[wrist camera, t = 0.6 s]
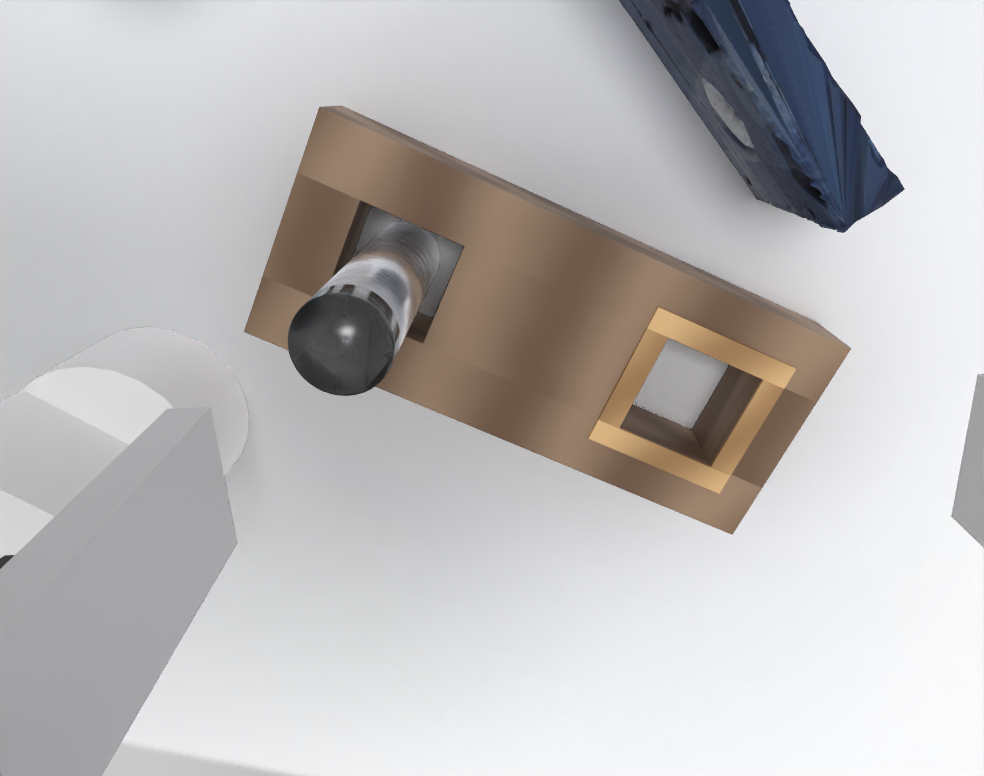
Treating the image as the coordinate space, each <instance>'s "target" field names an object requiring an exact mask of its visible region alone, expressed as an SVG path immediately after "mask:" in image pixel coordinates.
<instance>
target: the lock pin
mask: <svg viewBox="0 0 984 776" xmlns="http://www.w3.org/2000/svg"><path fill="white" fill-rule="evenodd" d="M439 263H440V251H439V247H438V244H437V242H436V240H435V238H434V237H433V235H432V234H431V233H430V232H429V231H428V230H426V229H424V228H422V227H420V226H417V225H415V224H413V223H410V222H408V221H400V222H395V223H392V224H390V225H388V226H387V227H385V228H384V229H383V230H381V231H380V232H379V233H378V234H377V235H376V236H375V237H374V238H373V239H372V240H371V241H370V242H369V243H368V244H367V245H366V246H365V247H364V248H363V249H362V250H361V251H360V252H359V253H357V254H356V255H355V256H354V257H353V258H352V259H351V260H350V261H349V262H348V263H347V264H346V265H345V266H344V267H343V268H342V269H341V270H340V271H339V272H338V273H337V274H336V275H335V276H333V277H332V278H331V279H330V280H329V281H328V282H327V283H326V284H325V285H324V286H323V287H322V288H321V289H320V290H319V291H318V292H317V293H316V294H315V295H314V296H313V297H312V298H311V299H310V300H308V301H307V302H306V303H305V304H304V305H303V306H302V307H301V308H300V309H299V311H298V312H297V313H296V315H295V316H294V318H293V320H292V322H291V324H290V328H289V332H288V349H289V354H290V357H291V360H292V362H293V364H294V366H295V368H296V369H297V371H298V372H299V373H300V375H301V376H302V377H303V378H304V379H305V380H306V381H307V382H309V383H310V384H311V385H313V386H314V387H316V388H317V389H320V390H322V391H324V392H327V393H330V394H334V395H342V396H349V395H356V394H360V393H363V392H366V391H368V390H370V389H372V388H373V387H375V386H376V385H377V384H378V383H380V382H381V381H382V380H383V378H384V377H385V376H386V374H387V373H388V371H389V369H390V367H391V365H392V363H393V361H394V359H395V357H396V355H397V353H398V351H399V348H400V346H401V344H402V342H403V340H404V338H405V336H406V334H407V332H408V330H409V328H410V326H411V324H412V322H413V319H414V317H415V315H416V313H417V311H418V309H419V307H420V305H421V303H422V301H423V299H424V297H425V295H426V293H427V291H428V288H429V286H430V284H431V282H432V280H433V278H434V276H435V274H436V272H437V270H438V267H439Z"/></svg>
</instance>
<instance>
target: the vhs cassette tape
mask: <svg viewBox="0 0 984 776" xmlns="http://www.w3.org/2000/svg"><path fill="white" fill-rule="evenodd" d="M620 2H621V4H622V5H623V7H624V8H625V9H626V11H627V12H628V13H629V15H630V16H631V18H632V19H633V20H634V22H635V23H636V25H637V26H638V28H639V29H640V31H641V32H642V34H643V35H644V36H645V38H646V39H647V41H648V42H649V44H650V45H651V47H652V48H653V49H654V51H655V52H656V54H657V55H658V57H659V58H660V60H661V61H662V63H663V64H664V66H665V67H666V68H667V70H668V71H669V73H670V74H671V76H672V77H673V79H674V80H675V81H676V83H677V84H678V86H679V87H680V89H681V90H682V92H683V93H684V95H685V96H686V97H687V99H688V100H689V102H690V103H691V105H692V106H693V108H694V109H695V111H696V112H697V113H698V115H699V116H700V118H701V119H702V121H703V122H704V123H705V125H706V126H707V128H708V129H709V131H710V132H711V134H712V135H713V136H714V138H715V139H716V141H717V142H718V143H719V145H720V146H721V148H722V149H723V151H724V152H725V154H726V155H727V157H728V158H729V159H730V161H731V162H732V164H733V165H734V166H735V168H736V169H737V170H738V172H739V173H740V175H741V176H742V178H743V179H744V180H745V182H746V183H747V185H748V186H749V188H750V189H751V191H752V192H753V194H754V195H755V197H756V199H757V200H762V201H764V202H767V203H771V204H772V205H773V206H775V207H777V208H780V209H782V210H785V211H787V212H791V213H794V214H796V215H798V216H800V217H802V218H807V220H811V221H813V222H815V223H817V224H819V226H820V227H824V228H829V229H833V230H836V229H837V232H842V233H844V232H846V231H847V230H848V229H849V228H850V227H851V226H852V225H853V224H854V223H855V222H856V221H858V220H860V219H861V218H863V217H865V216H867V215H868V214H870V213H872V212H873V211H875V210H877V209H879V208H880V207H882V206H883V205H885V204H886V203H887V202H889V201H890V200H891V199H893V198H894V197H895V196H897V195H898V194H899V193H900V192H902V191H903V190H904V187H903V186H902V184H901V182H900V180H899V179H898V177H897V176H896V175H895V174H894V173H893V172H891V171H890V170H889V169H888V168H887V166H886V163H885V161H884V159H883V158H882V157H881V155H880V154H879V152H878V151H877V149H876V147H875V146H874V144H873V142H872V141H871V139H870V137H869V136H868V134H867V133H866V131H865V130H864V128H863V127H862V125H861V123H860V122H861V115H860V114H859V112H858V111H857V109H856V108H855V106H854V105H853V103H852V102H851V101H850V99H849V98H848V97H847V95H846V94H845V93H844V92H843V90H842V89H841V88H840V86H839V85H838V84H837V82H836V81H835V80H834V78H833V77H832V75H831V73H830V71H829V69H828V67H827V65H826V63H825V62H824V60H823V59H822V57H821V56H820V54H819V53H818V51H817V50H816V49H815V47H814V46H813V44H812V43H811V41H810V40H809V38H808V37H807V35H806V34H805V32H804V29H803V28H802V27H801V26H800V25H799V23H798V21H797V19H796V17H795V15H794V13H793V11H792V9H791V7H790V2H789V1H788V0H620Z"/></svg>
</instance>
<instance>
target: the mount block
mask: <svg viewBox="0 0 984 776" xmlns="http://www.w3.org/2000/svg"><path fill="white" fill-rule="evenodd" d="M371 205H372V206H374V207H377V208H379V209H381V210H383V211H386V212H388V213H390V214H392V215H395V216H397V217H399V218H401V219H404V220H406V221H408V222H410V223H413V224H415V225H417V226H420V227H422V228H424V229H426V230H429V231H431V232H433V233H435V234H438V235H440V236H442V237H444V238H447V239H449V240H451V241H453V242H456V243H458V244H460V245H462V246H464V247H463V249H462V252H461V254H460V256H459V259H458V261H457V263H456V266H455V268H454V271H453V273H452V275H451V278H450V280H449V282H448V285H447V287H446V289H445V292H444V294H443V296H442V299H441V301H440V303H439V306H438V308H437V311H436V313H435V315H434V318H433V319H432V318H429V317H427V316H425V315H422V314H420V313H418V312H417V313H416V315H415V317H414V319H413V322H412V324H411V326H410V328H409V330H408V332H407V334H406V336H405V338H404V340H403V342H402V344H401V346H400V348H399V351H398V353H397V355H396V357H395V359H394V361H393V363H392V365H391V367H390V369H389V371H388V373H387V374H386V376H385V377H384V378H383V380H382V381H381V382H380V383H378V384H377V385H376V387H378V388H380V389H383V390H385V391H388V392H390V393H392V394H395V395H397V396H400V397H402V398H405V399H407V400H409V401H412V402H414V403H417V404H419V405H421V406H424V407H426V408H429V409H431V410H433V411H436V412H438V413H441V414H443V415H445V416H448V417H450V418H453V419H455V420H457V421H460V422H462V423H465V424H467V425H470V426H472V427H474V428H477V429H479V430H482V431H484V432H486V433H489V434H491V435H494V436H496V437H498V438H501V439H503V440H506V441H508V442H510V443H513V444H515V445H518V446H520V447H522V448H525V449H527V450H530V451H532V452H535V453H537V454H539V455H542V456H544V457H547V458H549V459H551V460H554V461H556V462H559V463H561V464H563V465H566V466H568V467H571V468H573V469H575V470H578V471H580V472H583V473H585V474H587V475H590V476H592V477H595V478H597V479H600V480H602V481H604V482H607V483H609V484H612V485H614V486H616V487H619V488H621V489H624V490H626V491H628V492H631V493H633V494H636V495H638V496H640V497H643V498H645V499H648V500H650V501H652V502H655V503H657V504H660V505H662V506H665V507H667V508H669V509H672V510H674V511H677V512H679V513H681V514H684V515H686V516H689V517H691V518H693V519H696V520H698V521H701V522H703V523H705V524H708V525H710V526H713V527H715V528H718V529H720V530H722V531H725V532H727V533H730V534H733V533H734V531H735V530H736V528H737V527H738V525H739V523H740V522H741V520H742V519H743V517H744V516H745V514H746V512H747V511H748V509H749V508H750V506H751V505H752V503H753V501H754V500H755V498H756V497H757V495H758V494H759V492H760V491H761V489H762V487H763V486H764V484H765V483H766V481H767V480H768V478H769V476H770V475H771V473H772V472H773V470H774V469H775V467H776V465H777V464H778V462H779V461H780V459H781V458H782V456H783V454H784V453H785V451H786V450H787V448H788V447H789V445H790V443H791V442H792V440H793V439H794V437H795V436H796V434H797V433H798V431H799V429H800V428H801V426H802V425H803V423H804V422H805V420H806V418H807V417H808V415H809V414H810V412H811V411H812V409H813V407H814V406H815V404H816V403H817V401H818V400H819V398H820V396H821V395H822V393H823V392H824V390H825V389H826V387H827V386H828V384H829V382H830V381H831V379H832V378H833V376H834V375H835V373H836V371H837V370H838V368H839V367H840V365H841V364H842V362H843V360H844V359H845V357H846V356H847V354H848V353H849V351H850V349H851V348H850V347H849V346H847V345H846V344H845V343H843V342H842V341H841V340H839V339H838V338H837V337H835V336H834V335H833V334H832V333H830V332H829V331H828V330H826V329H825V328H824V327H822V326H821V325H820V324H818V323H817V322H815V321H812V320H810V319H808V318H806V317H804V316H801V315H799V314H797V313H795V312H793V311H790V310H788V309H786V308H784V307H782V306H780V305H777V304H775V303H773V302H771V301H769V300H766V299H764V298H762V297H760V296H758V295H755V294H753V293H751V292H749V291H747V290H744V289H742V288H740V287H738V286H736V285H733V284H731V283H729V282H727V281H725V280H722V279H720V278H718V277H716V276H714V275H712V274H709V273H707V272H705V271H703V270H701V269H698V268H696V267H694V266H692V265H690V264H687V263H685V262H683V261H681V260H679V259H676V258H674V257H672V256H670V255H668V254H665V253H663V252H661V251H659V250H657V249H654V248H652V247H650V246H648V245H646V244H643V243H641V242H639V241H637V240H635V239H633V238H630V237H628V236H626V235H624V234H622V233H619V232H617V231H615V230H613V229H611V228H608V227H606V226H604V225H602V224H600V223H597V222H595V221H593V220H591V219H589V218H586V217H584V216H582V215H580V214H578V213H575V212H573V211H571V210H569V209H567V208H564V207H562V206H560V205H558V204H556V203H554V202H551V201H549V200H547V199H545V198H543V197H540V196H538V195H536V194H534V193H532V192H529V191H527V190H525V189H523V188H521V187H518V186H516V185H514V184H512V183H510V182H507V181H505V180H503V179H501V178H499V177H496V176H494V175H492V174H490V173H488V172H486V171H483V170H481V169H479V168H477V167H475V166H472V165H470V164H468V163H466V162H464V161H461V160H459V159H457V158H455V157H453V156H450V155H448V154H446V153H444V152H442V151H439V150H437V149H435V148H433V147H431V146H428V145H426V144H424V143H422V142H420V141H417V140H415V139H413V138H411V137H409V136H407V135H404V134H402V133H400V132H398V131H396V130H393V129H391V128H389V127H387V126H385V125H382V124H380V123H378V122H376V121H374V120H371V119H369V118H367V117H365V116H363V115H360V114H358V113H356V112H354V111H352V110H349V109H347V108H345V107H343V106H330V107H319V110H318V113H317V116H316V119H315V122H314V125H313V128H312V131H311V134H310V137H309V140H308V143H307V146H306V149H305V152H304V155H303V158H302V161H301V163H300V166H299V169H298V172H297V175H296V178H295V181H294V184H293V187H292V190H291V193H290V196H289V199H288V202H287V205H286V208H285V211H284V214H283V217H282V220H281V223H280V226H279V229H278V232H277V235H276V238H275V241H274V244H273V247H272V250H271V253H270V256H269V259H268V262H267V265H266V268H265V271H264V274H263V277H262V280H261V283H260V286H259V289H258V292H257V295H256V298H255V301H254V303H253V306H252V309H251V312H250V315H249V318H248V321H247V324H246V327H245V330H244V332H246V333H248V334H250V335H253V336H255V337H258V338H260V339H262V340H265V341H267V342H270V343H272V344H275V345H277V346H279V347H282V348H284V349H287V350H289V349H288V332H289V328H290V324H291V322H292V320H293V318H294V316H295V315H296V313H297V312H298V311H299V309H300V308H301V307H302V306H303V305H304V304H305V303H306V302H307V301H308V300H310V299H311V298H312V297H313V296H314V295H315V294H316V293H317V292H318V291H319V290H320V289H321V288H322V287H323V286H324V285H325V284H326V283H327V282H328V281H329V280H330V279H331V278H332V277H333V276H335V275H336V274H337V273H338V272H339V271H340V270H341V269H342V268H343V267H344V266H345V265H346V264H347V263H348V262H349V261H350V260H351V258H352V255H353V253H354V250H355V247H356V245H357V242H358V239H359V237H360V234H361V231H362V229H363V226H364V223H365V221H366V218H367V215H368V213H369V210H370V207H371ZM668 338H670V339H673V340H675V341H677V342H679V343H682V344H684V345H686V346H688V347H691V348H693V349H695V350H697V351H700V352H702V353H704V354H706V355H709V356H711V357H713V358H715V359H718V360H720V361H722V362H724V363H727V364H729V367H728V369H727V370H726V372H725V374H724V375H723V377H722V379H721V381H720V382H719V384H718V386H717V387H716V389H715V391H714V393H713V394H712V396H711V398H710V399H709V401H708V403H707V405H706V406H705V408H704V410H703V411H702V413H701V415H700V417H699V418H698V420H697V422H696V423H695V425H694V427H693V429H692V430H690V429H688V428H686V427H683V426H681V425H679V424H676V423H674V422H672V421H669V420H667V419H665V418H662V417H660V416H658V415H655V414H653V413H651V412H648V411H646V410H644V409H641V408H639V407H637V406H634V405H632V404H633V402H634V400H635V398H636V396H637V394H638V393H639V391H640V389H641V387H642V385H643V383H644V382H645V380H646V378H647V376H648V374H649V372H650V371H651V369H652V367H653V365H654V363H655V361H656V360H657V358H658V356H659V354H660V352H661V350H662V349H663V347H664V345H665V343H666V341H667V339H668Z"/></svg>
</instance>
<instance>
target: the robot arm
mask: <svg viewBox="0 0 984 776" xmlns="http://www.w3.org/2000/svg"><path fill="white" fill-rule="evenodd" d="M951 517H952V518H953V519H954V520H956V521H957V522H958V523H959V524H960V525H961V526H962V527H963V528H964V529H965V530H966V531H967V532H968V533H969V534H970V535H971V536H972V537H973V538H974V539H975V540H976V541H977V542H978V543H979V544H980V545H981V546H983V547H984V374H978V376H977V381H976V386H975V392H974V397H973V403H972V408H971V413H970V419H969V424H968V429H967V435H966V440H965V446H964V451H963V456H962V462H961V467H960V473H959V478H958V483H957V489H956V494H955V500H954V505H953V510H952V516H951ZM236 544H237V539H236V534H235V529H234V524H233V519H232V514H231V508H230V503H229V498H228V493H227V488H226V483H225V478H224V473H223V468H222V463H221V458H220V453H219V448H218V443H217V437H216V432H215V427H214V422H213V417H212V412H211V407H195V408H171V409H166V410H165V411H164V412H163V413H162V414H161V415H160V416H159V417H158V418H157V419H156V420H155V421H154V422H153V423H152V424H151V425H150V426H149V427H148V428H147V429H145V430H144V431H143V432H142V433H141V434H140V435H139V436H138V437H137V438H136V439H135V440H134V441H133V442H132V443H131V444H130V445H129V446H128V447H127V448H126V449H125V450H124V451H123V452H122V453H121V454H119V455H118V456H117V457H116V458H115V459H114V460H113V461H112V462H111V463H110V464H109V465H108V466H107V467H106V468H105V469H104V470H103V471H102V472H101V473H100V474H99V475H98V476H97V477H96V478H94V479H93V480H92V481H91V482H90V483H89V484H88V485H87V486H86V487H85V488H84V489H83V490H82V491H81V492H80V493H79V494H78V495H77V496H76V497H75V498H74V499H73V500H72V501H71V502H70V503H68V504H67V505H66V506H65V507H64V508H63V509H62V510H61V511H60V512H59V513H58V514H57V515H56V516H55V517H54V518H53V519H52V520H51V521H50V522H49V523H48V524H47V525H46V526H45V527H44V528H42V529H41V530H40V531H39V532H38V533H37V534H36V535H35V536H34V537H33V538H32V539H31V540H30V541H29V542H28V543H27V544H26V545H25V546H24V547H23V548H22V549H21V550H20V551H19V552H17V553H16V554H15V555H5V556H3V557H2V558H0V776H102V774H103V773H104V771H105V769H106V768H107V766H108V764H109V762H110V761H111V759H112V757H113V755H114V754H115V752H116V750H117V749H118V747H119V745H120V743H121V742H122V740H123V738H124V737H125V735H126V733H127V731H128V730H129V728H130V726H131V725H132V723H133V721H134V719H135V718H136V716H137V714H138V713H139V711H140V709H141V707H142V706H143V704H144V702H145V701H146V699H147V697H148V695H149V694H150V692H151V690H152V689H153V687H154V685H155V683H156V682H157V680H158V678H159V676H160V675H161V673H162V671H163V670H164V668H165V666H166V664H167V663H168V661H169V659H170V658H171V656H172V654H173V652H174V651H175V649H176V647H177V646H178V644H179V642H180V640H181V639H182V637H183V635H184V634H185V632H186V630H187V628H188V627H189V625H190V623H191V622H192V620H193V618H194V616H195V615H196V613H197V611H198V609H199V608H200V606H201V604H202V603H203V601H204V599H205V597H206V596H207V594H208V592H209V591H210V589H211V587H212V585H213V584H214V582H215V580H216V579H217V577H218V575H219V573H220V572H221V570H222V568H223V567H224V565H225V563H226V561H227V560H228V558H229V556H230V554H231V553H232V551H233V549H234V548H235V546H236Z"/></svg>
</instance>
